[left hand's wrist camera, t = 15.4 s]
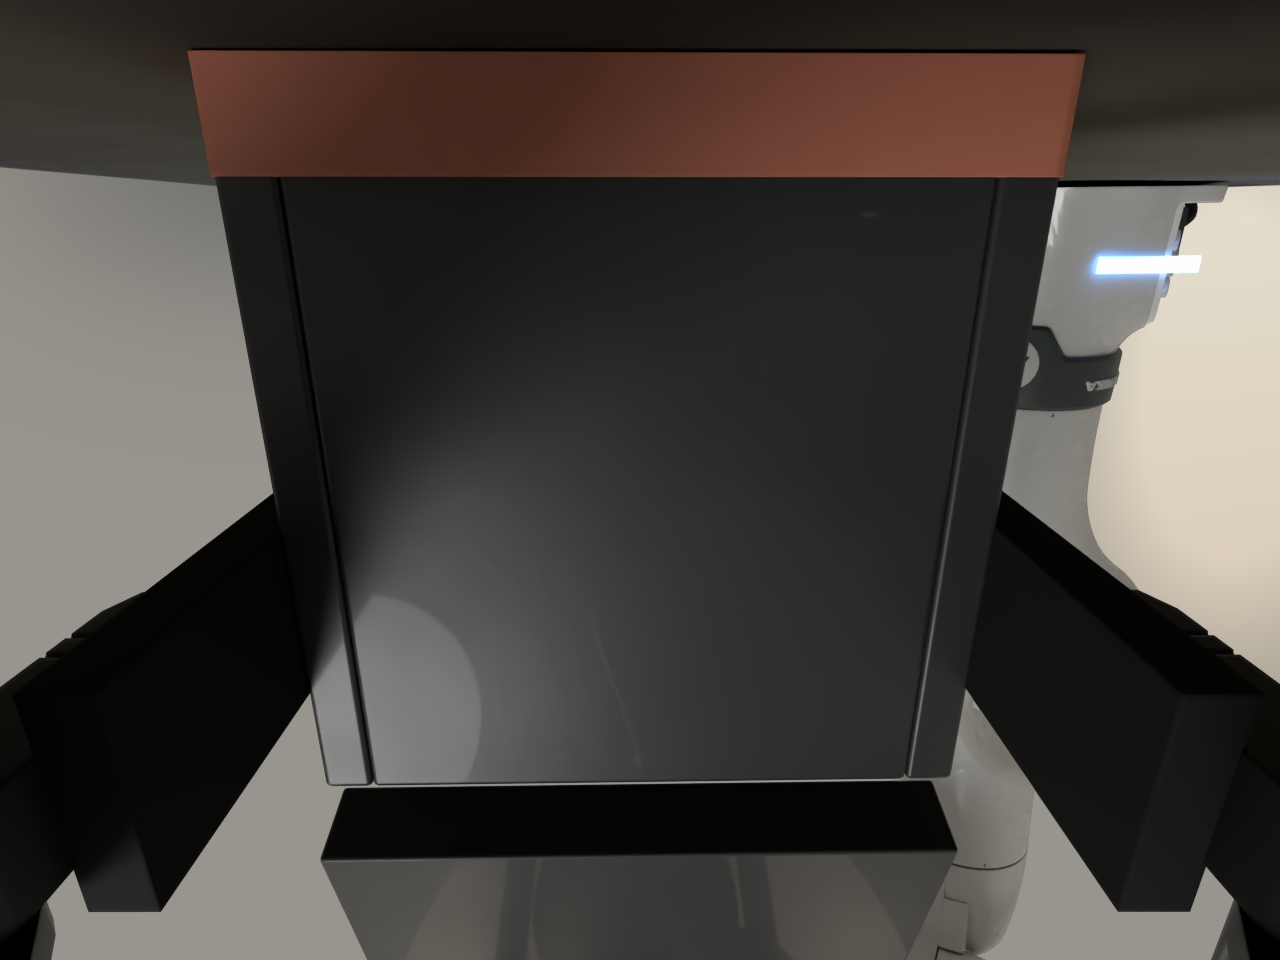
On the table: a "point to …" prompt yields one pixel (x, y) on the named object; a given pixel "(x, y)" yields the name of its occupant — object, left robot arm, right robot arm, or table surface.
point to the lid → (640, 870)
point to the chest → (636, 394)
